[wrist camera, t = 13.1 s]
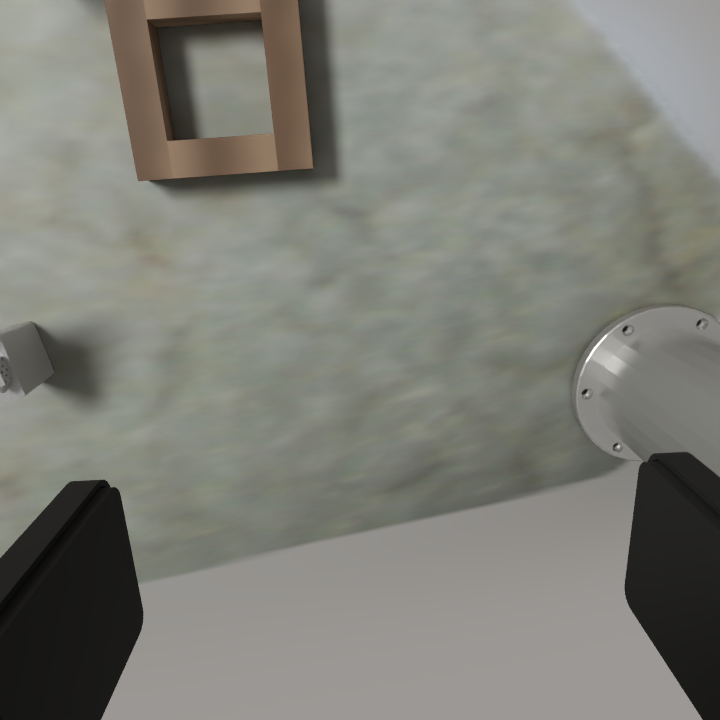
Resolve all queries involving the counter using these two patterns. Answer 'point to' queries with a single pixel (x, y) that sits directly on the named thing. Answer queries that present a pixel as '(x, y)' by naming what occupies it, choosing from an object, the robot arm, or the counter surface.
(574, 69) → the counter surface
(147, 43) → the shallow holder
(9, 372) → the silver flip-top case
